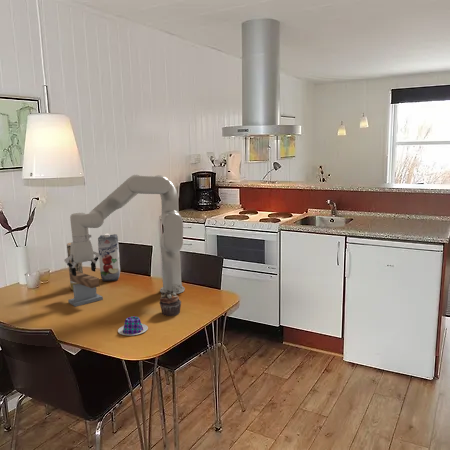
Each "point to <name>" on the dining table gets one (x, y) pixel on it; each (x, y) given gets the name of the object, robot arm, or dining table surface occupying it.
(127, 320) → the pudding
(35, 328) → the dining table surface
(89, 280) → the rod
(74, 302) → the ridge
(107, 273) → the juice carton
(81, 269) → the paper tube
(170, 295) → the cupcake
